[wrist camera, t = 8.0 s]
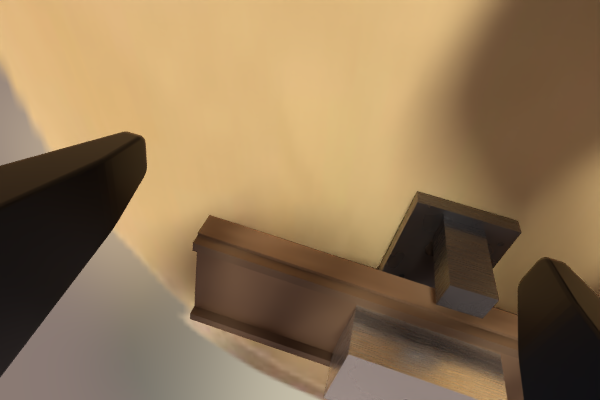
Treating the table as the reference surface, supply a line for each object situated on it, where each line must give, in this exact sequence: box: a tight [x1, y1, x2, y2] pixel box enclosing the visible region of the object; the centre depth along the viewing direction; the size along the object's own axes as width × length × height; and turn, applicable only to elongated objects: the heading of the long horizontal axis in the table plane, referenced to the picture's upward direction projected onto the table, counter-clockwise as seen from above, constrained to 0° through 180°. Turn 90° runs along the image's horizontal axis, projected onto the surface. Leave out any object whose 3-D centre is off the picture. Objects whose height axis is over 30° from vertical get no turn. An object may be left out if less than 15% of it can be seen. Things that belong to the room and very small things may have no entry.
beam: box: [190, 215, 524, 400], centre depth 23 cm, size 28×8×2 cm, turn 79°
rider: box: [323, 305, 507, 400], centre depth 22 cm, size 8×5×3 cm, turn 78°
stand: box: [378, 191, 521, 319], centre depth 25 cm, size 6×13×6 cm, turn 169°
